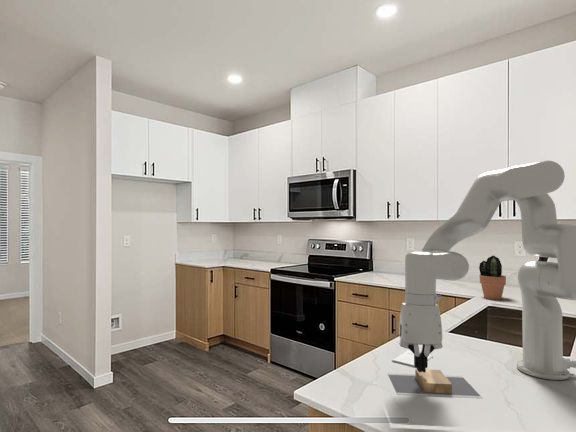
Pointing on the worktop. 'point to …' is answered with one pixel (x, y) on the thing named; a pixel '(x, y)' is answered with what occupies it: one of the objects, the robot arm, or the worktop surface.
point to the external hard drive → (407, 358)
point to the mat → (411, 386)
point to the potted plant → (492, 278)
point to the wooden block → (433, 381)
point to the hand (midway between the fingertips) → (420, 370)
